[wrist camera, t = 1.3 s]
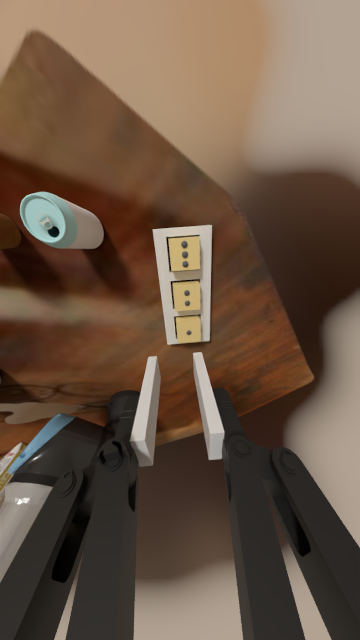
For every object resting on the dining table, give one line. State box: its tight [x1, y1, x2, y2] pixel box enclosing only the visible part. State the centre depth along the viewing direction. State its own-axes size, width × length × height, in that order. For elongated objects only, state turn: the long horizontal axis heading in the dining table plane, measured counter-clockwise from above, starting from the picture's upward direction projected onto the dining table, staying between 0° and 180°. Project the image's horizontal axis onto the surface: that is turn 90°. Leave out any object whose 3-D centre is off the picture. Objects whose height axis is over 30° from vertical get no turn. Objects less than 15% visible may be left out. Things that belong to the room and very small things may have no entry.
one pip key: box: [176, 315, 201, 343], centre depth 38 cm, size 6×6×4 cm
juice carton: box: [0, 443, 28, 500], centre depth 55 cm, size 8×9×19 cm
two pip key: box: [173, 281, 201, 311], centre depth 35 cm, size 6×6×4 cm
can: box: [20, 192, 104, 249], centre depth 26 cm, size 7×7×12 cm
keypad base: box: [153, 225, 212, 344], centre depth 37 cm, size 28×12×2 cm, turn 4°
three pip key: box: [168, 236, 201, 271], centre depth 31 cm, size 6×6×4 cm
